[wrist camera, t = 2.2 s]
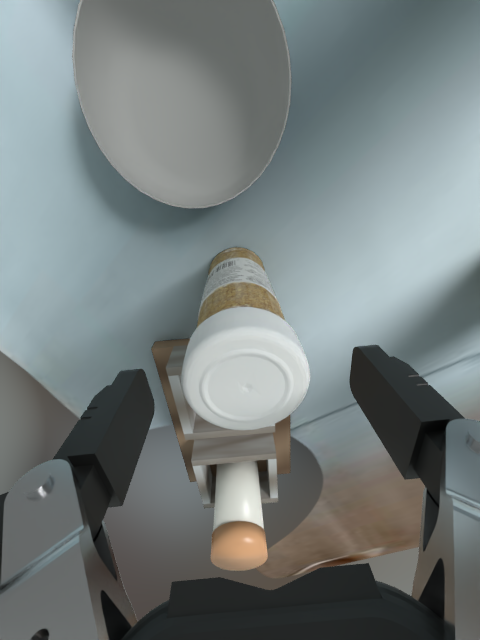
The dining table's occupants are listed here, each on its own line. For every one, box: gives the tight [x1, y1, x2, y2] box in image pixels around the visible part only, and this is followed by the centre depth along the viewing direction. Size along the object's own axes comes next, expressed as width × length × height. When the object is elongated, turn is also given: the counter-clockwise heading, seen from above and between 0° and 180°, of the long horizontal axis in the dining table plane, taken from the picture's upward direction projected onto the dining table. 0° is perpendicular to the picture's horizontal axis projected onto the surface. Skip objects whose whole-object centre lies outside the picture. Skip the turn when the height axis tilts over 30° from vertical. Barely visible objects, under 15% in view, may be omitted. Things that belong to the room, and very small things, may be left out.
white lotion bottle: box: [211, 461, 267, 571], centre depth 25 cm, size 5×5×9 cm
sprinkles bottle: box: [181, 247, 310, 430], centre depth 15 cm, size 5×5×14 cm
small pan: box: [72, 0, 291, 208], centre depth 13 cm, size 11×18×4 cm, turn 26°
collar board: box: [151, 338, 290, 508], centre depth 26 cm, size 19×12×4 cm, turn 5°
